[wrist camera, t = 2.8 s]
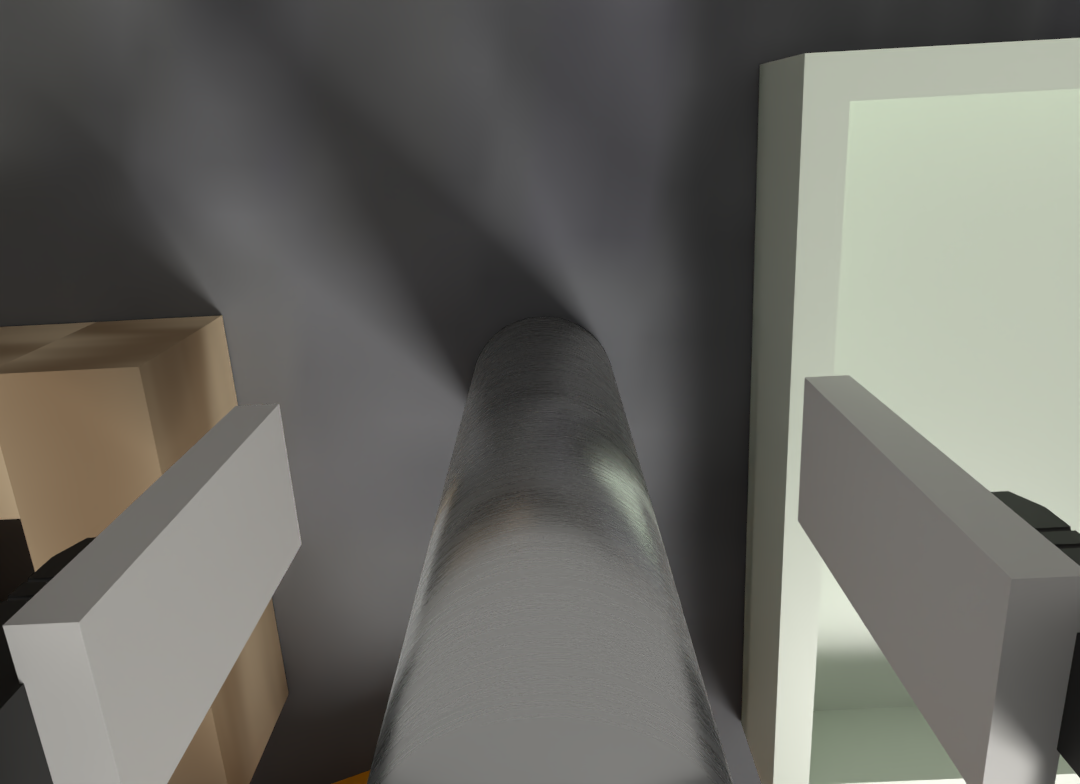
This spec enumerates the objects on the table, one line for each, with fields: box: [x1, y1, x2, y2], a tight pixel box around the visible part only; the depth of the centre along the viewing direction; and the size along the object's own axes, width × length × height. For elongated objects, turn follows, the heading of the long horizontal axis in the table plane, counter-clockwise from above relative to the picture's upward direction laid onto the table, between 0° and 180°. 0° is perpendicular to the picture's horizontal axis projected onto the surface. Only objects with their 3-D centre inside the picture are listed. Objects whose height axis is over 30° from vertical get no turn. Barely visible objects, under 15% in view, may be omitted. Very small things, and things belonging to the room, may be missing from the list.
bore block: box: [0, 315, 289, 784], centre depth 18 cm, size 10×10×4 cm
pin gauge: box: [367, 317, 733, 784], centre depth 13 cm, size 3×3×13 cm
